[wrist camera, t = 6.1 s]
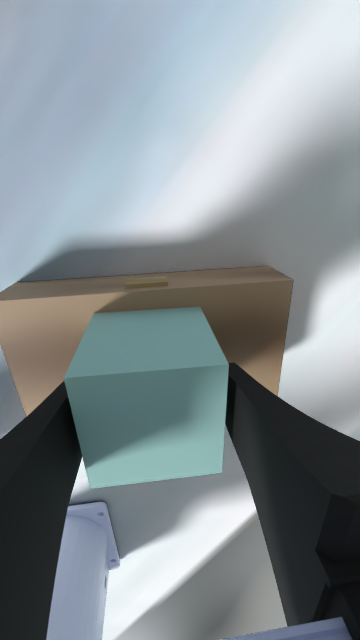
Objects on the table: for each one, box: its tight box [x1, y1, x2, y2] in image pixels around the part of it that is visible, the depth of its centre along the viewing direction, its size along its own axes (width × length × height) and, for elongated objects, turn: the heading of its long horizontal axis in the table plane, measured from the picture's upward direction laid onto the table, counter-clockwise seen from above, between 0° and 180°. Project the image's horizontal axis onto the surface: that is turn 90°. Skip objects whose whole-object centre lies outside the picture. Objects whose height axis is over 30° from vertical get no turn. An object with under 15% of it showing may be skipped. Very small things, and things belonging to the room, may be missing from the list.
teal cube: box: [64, 307, 229, 489], centre depth 12 cm, size 5×5×5 cm
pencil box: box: [0, 266, 293, 417], centre depth 15 cm, size 7×14×3 cm, turn 92°
